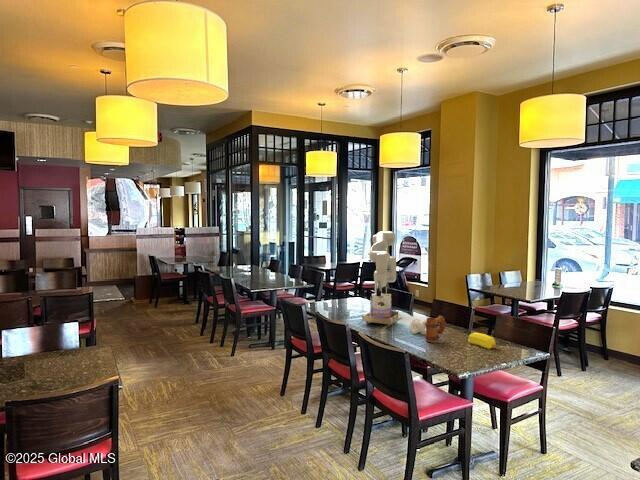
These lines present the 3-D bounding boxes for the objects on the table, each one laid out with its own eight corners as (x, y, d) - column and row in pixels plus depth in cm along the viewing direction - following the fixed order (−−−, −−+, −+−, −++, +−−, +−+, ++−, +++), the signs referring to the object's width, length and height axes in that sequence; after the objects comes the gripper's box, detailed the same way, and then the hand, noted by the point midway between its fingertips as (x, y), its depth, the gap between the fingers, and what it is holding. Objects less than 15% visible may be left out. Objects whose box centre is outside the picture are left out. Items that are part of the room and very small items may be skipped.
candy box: (391, 316, 310) (391, 293, 309) (391, 318, 304) (391, 295, 303) (371, 315, 312) (371, 293, 311) (371, 317, 306) (371, 294, 305)
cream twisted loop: (406, 334, 280) (407, 320, 280) (412, 330, 291) (412, 316, 290) (424, 336, 275) (424, 322, 275) (429, 332, 286) (429, 318, 285)
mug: (430, 344, 259) (430, 319, 258) (421, 341, 266) (421, 316, 265) (448, 341, 266) (449, 316, 265) (439, 337, 273) (440, 314, 272)
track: (381, 315, 331) (381, 314, 331) (401, 317, 324) (401, 316, 324) (363, 325, 301) (363, 324, 301) (385, 328, 294) (385, 327, 294)
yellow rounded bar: (473, 340, 268) (464, 342, 264) (473, 329, 268) (465, 331, 263) (499, 348, 253) (490, 350, 249) (499, 337, 252) (491, 339, 248)
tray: (371, 317, 319) (371, 308, 319) (398, 321, 310) (398, 311, 309) (362, 322, 304) (362, 313, 304) (389, 326, 295) (389, 316, 294)
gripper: (381, 268, 315) (380, 292, 317) (371, 272, 300) (371, 296, 302) (391, 269, 311) (390, 293, 313) (382, 273, 296) (381, 298, 298)
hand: (381, 294), depth 307 cm, fingers open, 9 cm apart
